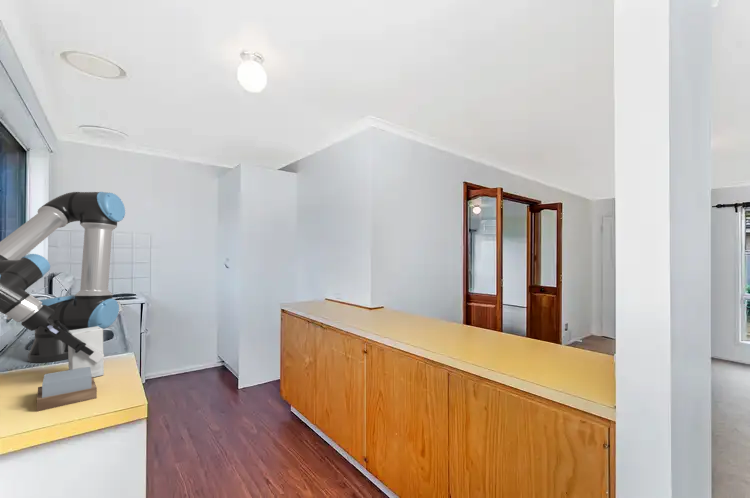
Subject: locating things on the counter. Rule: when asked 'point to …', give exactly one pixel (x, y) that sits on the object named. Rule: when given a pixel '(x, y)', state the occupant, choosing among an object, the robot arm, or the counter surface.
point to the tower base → (65, 398)
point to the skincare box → (93, 339)
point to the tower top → (66, 381)
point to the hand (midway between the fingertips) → (99, 356)
